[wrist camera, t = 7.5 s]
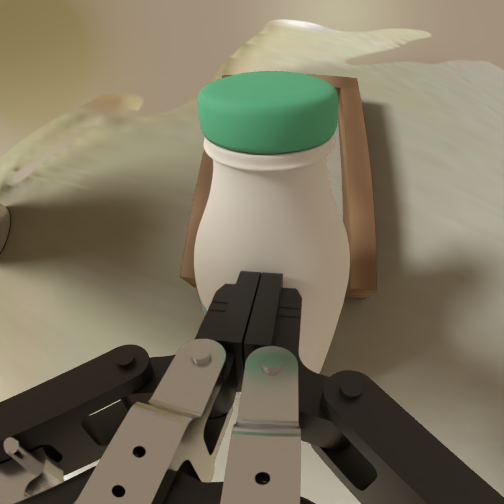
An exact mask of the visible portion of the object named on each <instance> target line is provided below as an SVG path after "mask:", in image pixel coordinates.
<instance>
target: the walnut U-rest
mask: <svg viewBox="0 0 504 504" xmlns="http://www.w3.org/2000/svg"><path fill="white" fill-rule="evenodd" d="M305 75H307V74H305ZM228 76H232V75H224V76H222V78H224V77H228ZM310 76H314V77H317V78H320V79H322V80H325V81H327V82H328V83H330V84H331V85H332V86H333V87H335V89H336V90H337V94H338V124H339V137H340V151H341V168H342V192H343V223H344V226H345V229H346V233H347V237H348V243H349V251H350V270H349V280H348V285H347V289H346V294H345V298H357V299H365V298H366V297H367V296H369V295H370V294H371V293H373V292H374V291H375V290H376V235H375V216H374V201H373V188H372V178H371V168H370V159H369V150H368V143H367V135H366V128H365V122H364V115H363V109H362V103H361V97H360V92H359V87H358V82H357V78H350V77H339V76H326V75H310ZM212 177H213V159H212V158H211V157H210V156H209V155H208V154H207V153H206V151H205V149H204V152H203V157H202V161H201V166H200V170H199V175H198V180H197V185H196V190H195V195H194V200H193V205H192V210H191V215H190V221H189V226H188V232H187V237H186V243H185V249H184V255H183V261H182V267H181V273H180V277H181V278H182V279H184V280H185V281H186V282H188V283H189V284H191V285H192V286H194V287H196V288H197V285H196V280H195V271H194V248H195V241H196V236H197V231H198V228H199V225H200V222H201V219H202V216H203V213H204V210H205V208H206V205H207V201H208V198H209V194H210V189H211V184H212Z"/></svg>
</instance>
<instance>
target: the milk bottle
mask: <svg viewBox="0 0 504 504" xmlns="http://www.w3.org/2000/svg"><path fill="white" fill-rule="evenodd" d="M198 111H199V119H200V124H201V129H202V132H203V134H204V136H205V140H204V149H205V151H206V153H207V154H208V155H209V156H210V157H211V158H212V159H213V177H212V184H211V189H210V194H209V198H208V201H207V205H206V208H205V210H204V213H203V216H202V219H201V222H200V225H199V228H198V231H197V236H196V241H195V248H194V271H195V280H196V285H197V289H198V293H199V297H200V301H201V305H202V309H203V312H204V315H206V313H207V311H208V308H209V306H210V304H211V303H212V299H213V297H214V295H215V292H216V291H217V290H218V289H219V288H221V287H222V286H223V285H224V284H225V283H226V284H236V282H237V279H238V276H239V274H240V271H251V272H261V273H262V272H267V273H282V274H283V288H296V289H297V290H298V292H299V293H300V295H301V297H302V308H301V325H300V339H299V357H300V360H301V361H302V363H303V364H304V365H305V366H306V367H307V368H308V369H310V370H311V371H313V372H315V373H318V374H319V373H320V371H321V369H322V366H323V364H324V361H325V358H326V355H327V353H328V350H329V347H330V344H331V341H332V338H333V335H334V332H335V329H336V326H337V323H338V319H339V316H340V313H341V309H342V306H343V302H344V298H345V294H346V289H347V285H348V280H349V270H350V251H349V243H348V237H347V233H346V229H345V226H344V223H343V220H342V218H341V215H340V213H339V210H338V207H337V205H336V202H335V199H334V196H333V193H332V189H331V185H330V181H329V176H328V170H327V157H328V156H329V155H330V154H331V153H332V152H333V150H334V148H335V138H334V132H335V130H336V127H337V120H338V94H337V90H336V89H335V87H333V86H332V85H331V84H330V83H328V82H327V81H325V80H322V79H320V78H317V77H314V76H310V75H305V74H300V73H294V72H282V71H261V72H249V73H242V74H236V75H232V76H228V77H224V78H221V79H218V80H216V81H213V82H211V83H209V84H207V85H206V86H205V87H204V88H203V89H202V90H201V91H200V92H199V96H198ZM239 393H240V394H241V392H239Z"/></svg>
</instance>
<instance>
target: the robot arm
mask: <svg viewBox="0 0 504 504" xmlns="http://www.w3.org/2000/svg"><path fill="white" fill-rule="evenodd" d="M9 227H10V214H9V211H8V209H7V208H6V207H5V206H3V205H2V204H0V252H1V250H2V248H3V246H4V244H5V242H6V239H7V236H8V232H9ZM301 308H302V297H301V295H300V293H299V292H298V290H297V289H296V288H283V274H282V273H267V272H262V273H261V272H251V271H240V274H239V276H238V279H237V282H236V284H226V283H225V284H224V285H223V286H222V287H221V288H219V289H218V290H217V291H216V292H215V295H214V297H213V299H212V303H211V304H210V306H209V308H208V311H207V313H206V315H205V317H204V319H203V322H202V324H201V326H200V328H199V331H198V333H197V335H196V338H195V340H192V341H189V342H187V343H186V344H184V345H183V346H182V347H181V348H180V349H179V350H178V352H177V354H176V355H172V356H164V357H151V358H149V356H148V353H147V352H146V350H145V349H143V348H142V347H140V346H137V345H123V346H120V347H117V348H115V349H113V350H111V351H109V352H107V353H105V354H103V355H101V356H99V357H97V358H95V359H92V360H90V361H88V362H86V363H84V364H82V365H80V366H78V367H76V368H74V369H72V370H69V371H67V372H65V373H63V374H61V375H59V376H57V377H55V378H52V379H50V380H48V381H46V382H44V383H42V384H40V385H37V386H35V387H33V388H31V389H29V390H27V391H24V392H22V393H20V394H18V395H16V396H13V397H11V398H9V399H7V400H4V401H2V402H0V504H315V503H313V502H312V501H310V500H308V499H306V498H303V497H301V496H300V482H301V440H302V441H305V442H308V443H310V444H311V446H312V448H313V449H314V451H315V452H316V453H317V454H318V455H319V456H320V458H321V459H322V460H323V461H324V462H325V463H326V465H327V466H328V467H329V468H330V469H331V470H332V472H333V473H334V474H335V475H336V476H337V477H338V478H339V480H340V481H341V482H342V483H343V484H344V485H345V486H346V487H347V488H348V490H349V491H350V492H351V493H352V494H353V495H354V496H355V497H356V498H357V499H358V500H359V502H360V503H361V504H504V497H503V496H502V495H500V494H499V493H498V492H497V491H496V490H495V489H493V488H492V487H491V486H490V485H489V484H488V483H486V482H485V481H484V480H483V479H482V478H481V477H480V476H478V475H477V474H476V473H475V472H474V471H473V470H472V469H470V468H469V467H468V466H467V465H466V464H465V463H464V462H463V461H461V460H460V459H459V458H458V457H457V456H456V455H455V454H453V453H452V452H451V451H450V450H449V449H448V448H447V447H446V446H444V445H443V444H442V443H441V442H440V441H439V440H438V439H437V438H435V437H434V436H433V435H432V434H431V433H430V432H429V431H428V430H426V429H425V428H424V427H423V426H422V425H421V424H420V423H419V422H418V421H416V420H415V419H414V418H413V417H412V416H411V415H410V414H409V413H408V412H406V411H405V410H404V409H403V408H402V407H401V406H400V405H399V404H398V403H396V402H395V401H394V400H393V399H392V398H391V397H390V396H389V395H388V394H387V393H385V392H384V391H383V390H382V389H381V388H380V387H379V386H378V385H377V384H376V383H374V382H373V381H372V380H371V379H370V378H369V377H368V376H366V375H364V374H362V373H360V372H356V371H341V372H337V373H335V374H333V375H332V376H330V377H327V376H324V375H321V374H318V373H315V372H313V371H311V370H310V369H308V368H307V367H306V366H305V365H304V364H303V363H302V361H301V360H300V357H299V339H300V325H301ZM236 392H241V397H240V404H239V411H238V418H237V422H236V424H234V426H233V429H232V433H231V439H230V446H229V452H228V458H227V464H226V471H225V477H224V482H211V481H212V478H213V474H214V464H215V459H216V456H217V453H218V451H219V448H220V445H221V442H222V440H223V437H224V434H225V431H226V429H227V426H228V423H229V420H230V418H231V415H232V411H233V402H234V399H235V395H236ZM120 399H121V401H119V402H117V403H115V404H113V405H111V406H109V407H107V408H105V409H103V410H101V411H99V412H97V413H95V414H93V415H90V414H92V413H94V412H96V411H98V410H100V409H102V408H104V407H106V406H108V405H110V404H112V403H114V402H116V401H118V400H120ZM88 415H90V416H88ZM99 459H100V461H99V463H98V464H97V466H95V467H92V468H90V469H88V470H86V471H84V472H82V473H80V474H78V475H76V476H74V477H72V478H70V479H68V480H66V481H64V479H63V476H64V475H67V474H69V473H71V472H73V471H75V470H78V469H80V468H82V467H84V466H86V465H88V464H91V463H93V462H95V461H97V460H99Z"/></svg>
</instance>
